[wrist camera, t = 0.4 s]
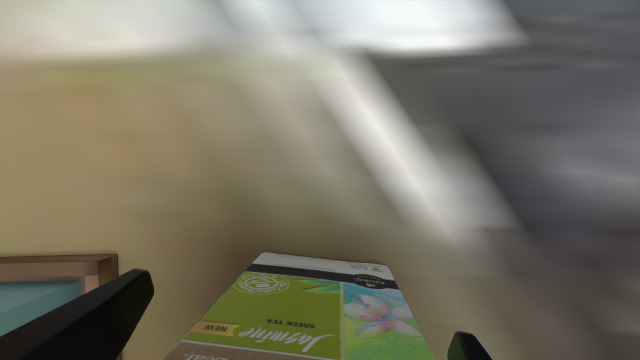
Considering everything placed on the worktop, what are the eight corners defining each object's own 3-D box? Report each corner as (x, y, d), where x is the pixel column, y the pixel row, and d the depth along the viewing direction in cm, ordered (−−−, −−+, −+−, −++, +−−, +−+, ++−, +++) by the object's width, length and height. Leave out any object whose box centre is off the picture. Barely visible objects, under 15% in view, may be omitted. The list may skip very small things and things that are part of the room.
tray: (125, 444, 24) (107, 468, 22) (-20, 444, 25) (-51, 467, 23) (117, 254, 24) (97, 261, 22) (-30, 258, 25) (-62, 265, 23)
